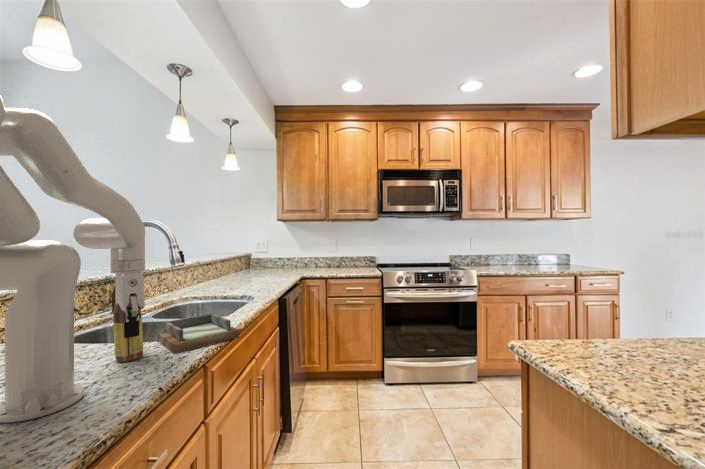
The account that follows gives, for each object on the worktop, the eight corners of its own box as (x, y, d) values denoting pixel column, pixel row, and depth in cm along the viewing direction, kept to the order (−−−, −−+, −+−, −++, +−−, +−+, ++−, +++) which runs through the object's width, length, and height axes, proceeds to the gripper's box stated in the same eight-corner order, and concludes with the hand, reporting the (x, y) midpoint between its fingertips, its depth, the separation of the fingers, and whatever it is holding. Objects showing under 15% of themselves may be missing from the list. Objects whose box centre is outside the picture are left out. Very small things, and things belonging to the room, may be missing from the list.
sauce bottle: (143, 352, 89) (143, 281, 89) (142, 360, 83) (142, 284, 84) (114, 357, 85) (114, 283, 86) (111, 365, 80) (111, 286, 80)
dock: (239, 337, 101) (239, 320, 102) (174, 353, 88) (173, 333, 88) (218, 328, 113) (218, 312, 113) (157, 341, 99) (157, 323, 99)
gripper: (153, 267, 81) (153, 337, 81) (136, 264, 93) (137, 325, 93) (117, 269, 76) (118, 345, 76) (104, 265, 88) (105, 330, 88)
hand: (128, 333), depth 85 cm, fingers closed on sauce bottle, 6 cm apart
